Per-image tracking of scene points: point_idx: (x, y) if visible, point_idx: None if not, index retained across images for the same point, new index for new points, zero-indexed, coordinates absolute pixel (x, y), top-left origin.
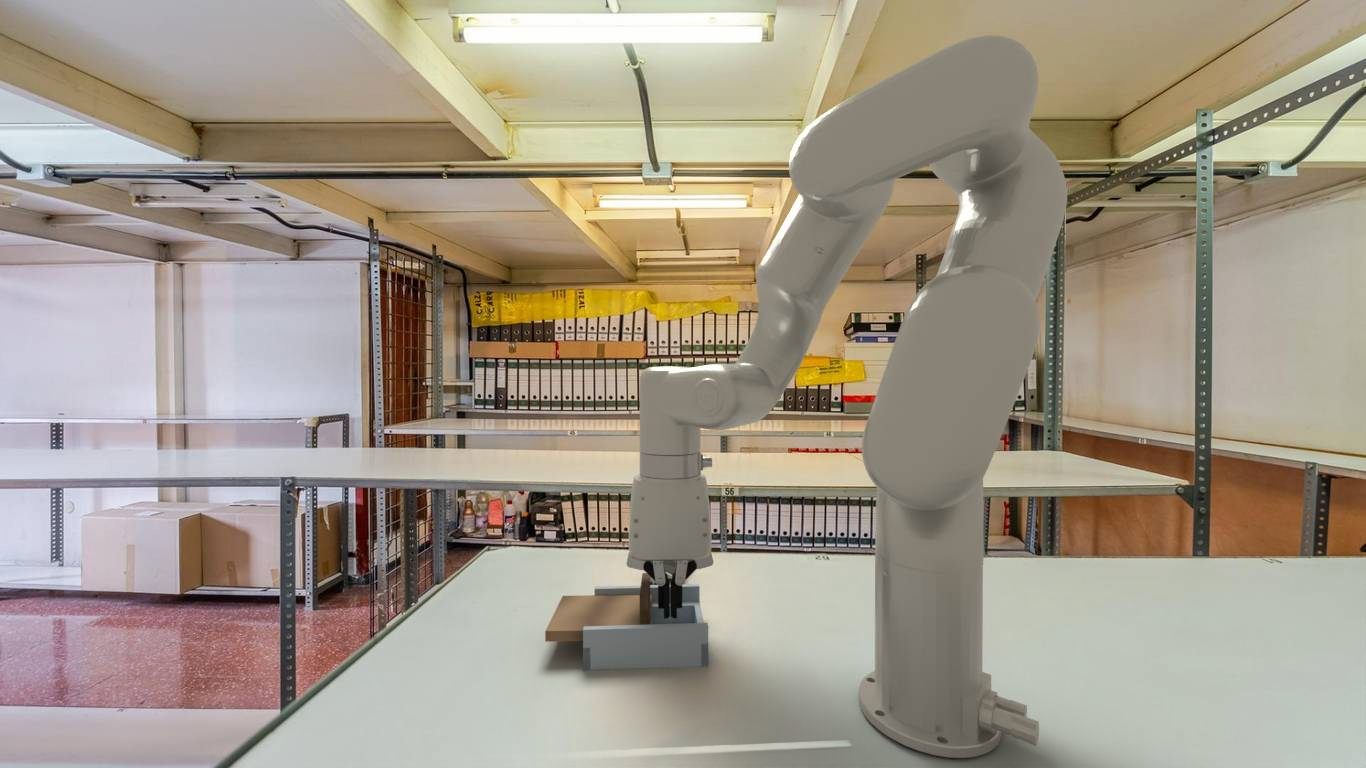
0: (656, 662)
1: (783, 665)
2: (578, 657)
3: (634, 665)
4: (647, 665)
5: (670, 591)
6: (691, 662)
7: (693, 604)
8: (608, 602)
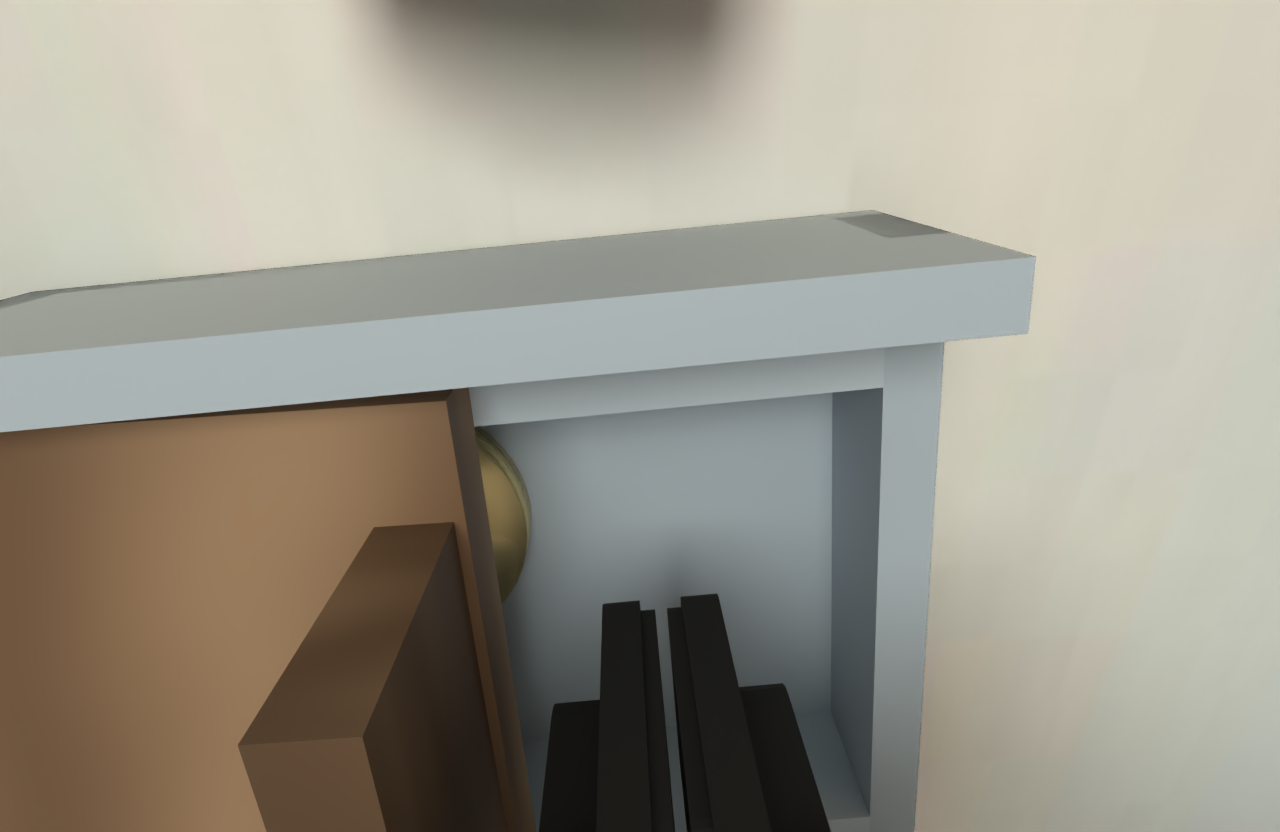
0: None
1: (1253, 705)
2: None
3: None
4: None
5: (680, 734)
6: None
7: (877, 369)
8: (44, 598)
